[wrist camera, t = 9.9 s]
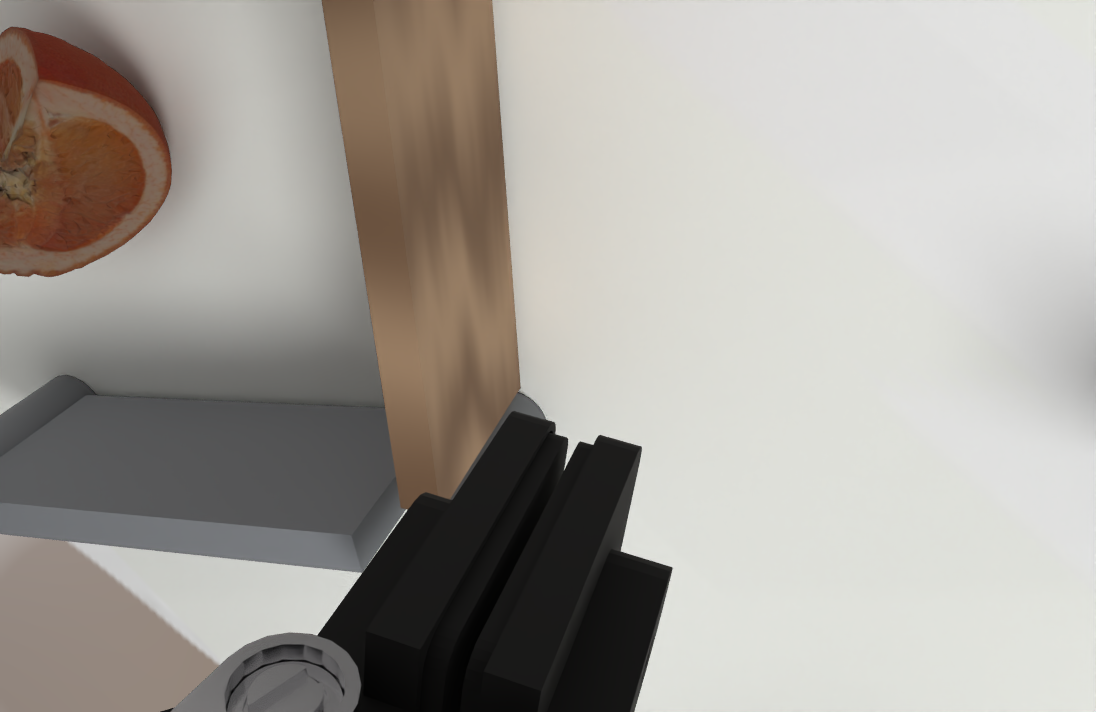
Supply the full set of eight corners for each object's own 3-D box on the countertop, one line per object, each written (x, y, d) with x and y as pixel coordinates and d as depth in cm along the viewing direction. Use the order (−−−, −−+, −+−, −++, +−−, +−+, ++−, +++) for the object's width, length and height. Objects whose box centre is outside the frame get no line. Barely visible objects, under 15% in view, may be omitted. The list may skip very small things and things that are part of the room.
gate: (529, 388, 32) (436, 538, 25) (479, 383, 32) (374, 528, 26) (484, -262, 23) (322, -297, 16) (416, -256, 23) (233, -287, 17)
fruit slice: (143, 274, 35) (44, 334, 31) (-5, 154, 34) (-125, 200, 30) (232, 106, 31) (130, 151, 26) (64, -35, 30) (-67, -12, 26)
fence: (63, 427, 40) (-148, 583, 32) (40, 374, 39) (-185, 522, 31) (1283, 497, 26) (1470, 806, 18) (1305, 418, 25) (1514, 711, 17)
